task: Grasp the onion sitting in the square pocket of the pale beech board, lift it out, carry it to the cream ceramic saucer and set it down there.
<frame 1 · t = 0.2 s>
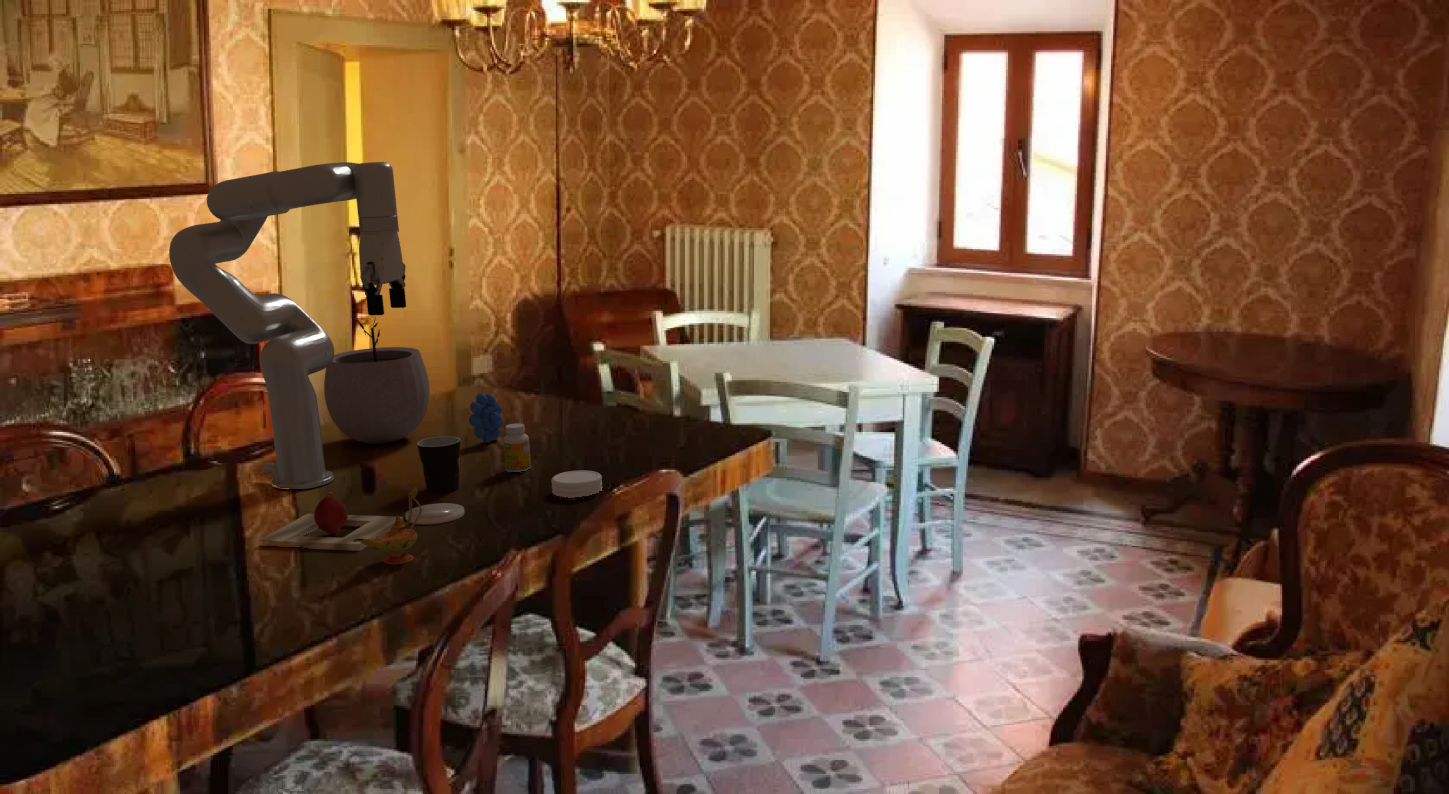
hand: (387, 311, 263), 36 cm above the table, tool pointing down, fingers open, 9 cm apart
saucer: (435, 515, 250), on the table
magic lamp: (392, 563, 224), on the table
pocket board: (333, 534, 241), on the table
plant pot: (382, 441, 312), on the table
grapes: (491, 443, 305), on the table
white round container: (577, 494, 261), on the table
supplement bottle: (518, 470, 280), on the table
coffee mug: (446, 487, 269), on the table
onion: (333, 535, 241), resting in pocket board
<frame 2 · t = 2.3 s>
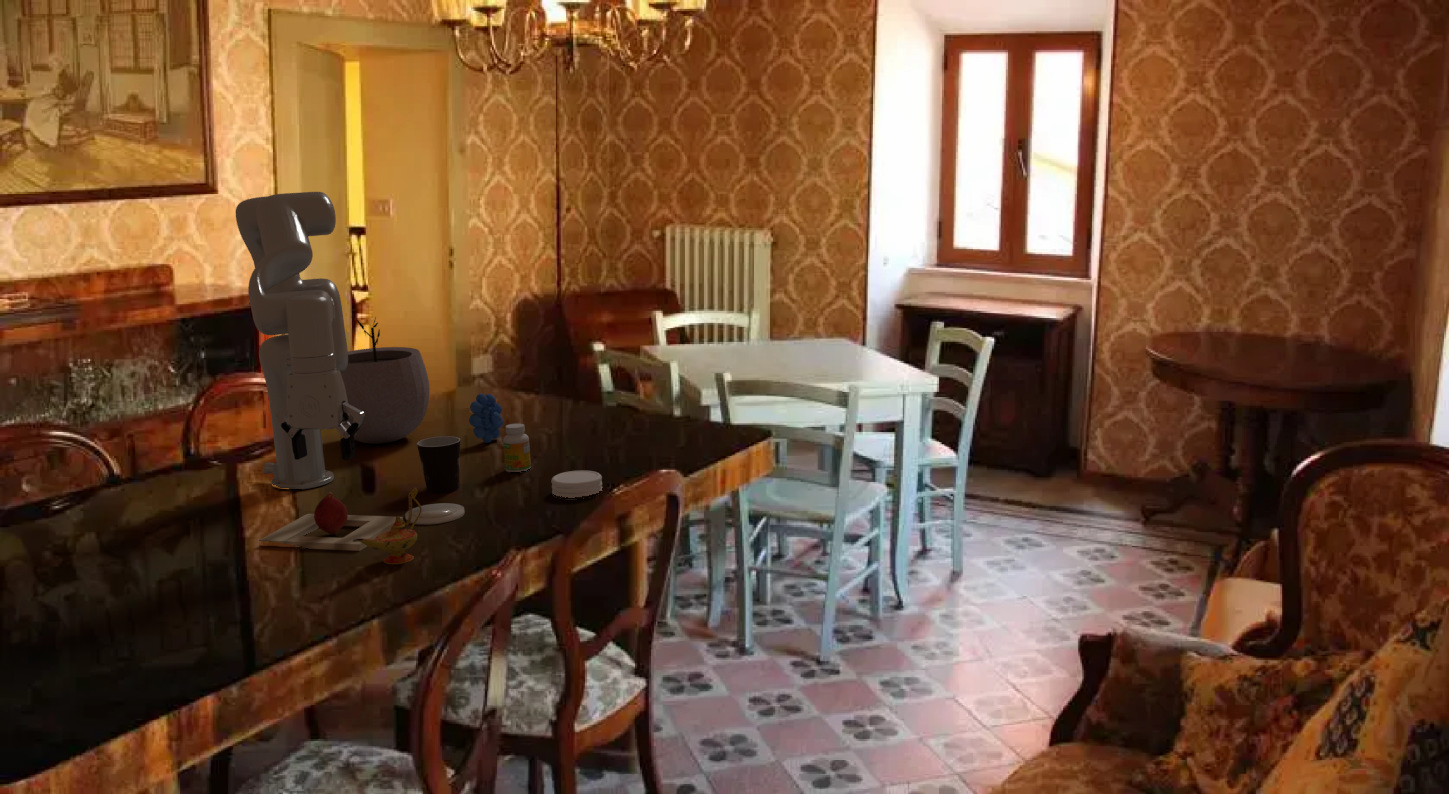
hand: (324, 458, 237), 15 cm above the table, tool pointing down, fingers open, 9 cm apart
nothing on the table moved.
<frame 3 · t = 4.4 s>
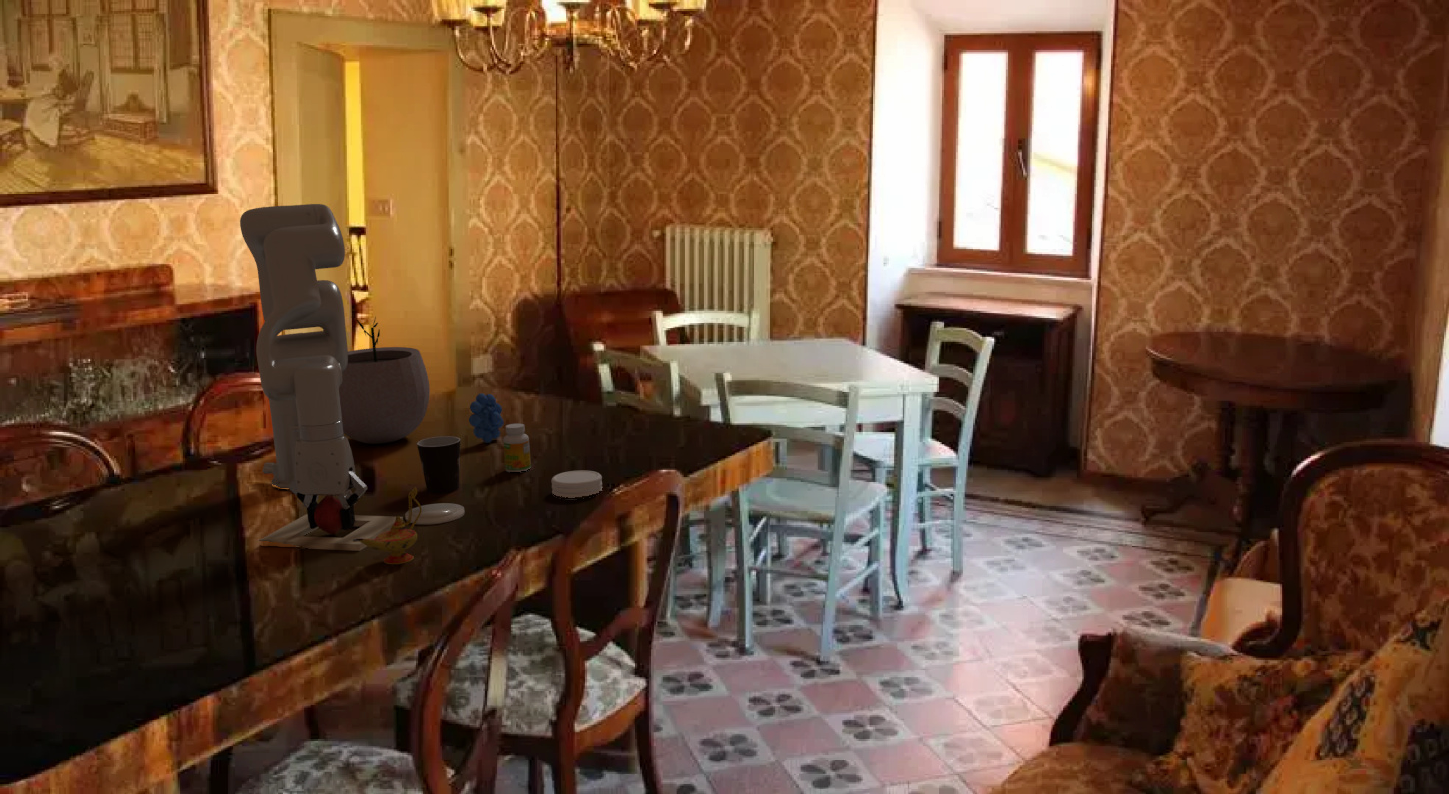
hand: (332, 526, 240), 2 cm above the table, tool pointing down, fingers closed on onion, 5 cm apart
onion: (333, 535, 241), resting in pocket board, touching gripper
everything else where it was.
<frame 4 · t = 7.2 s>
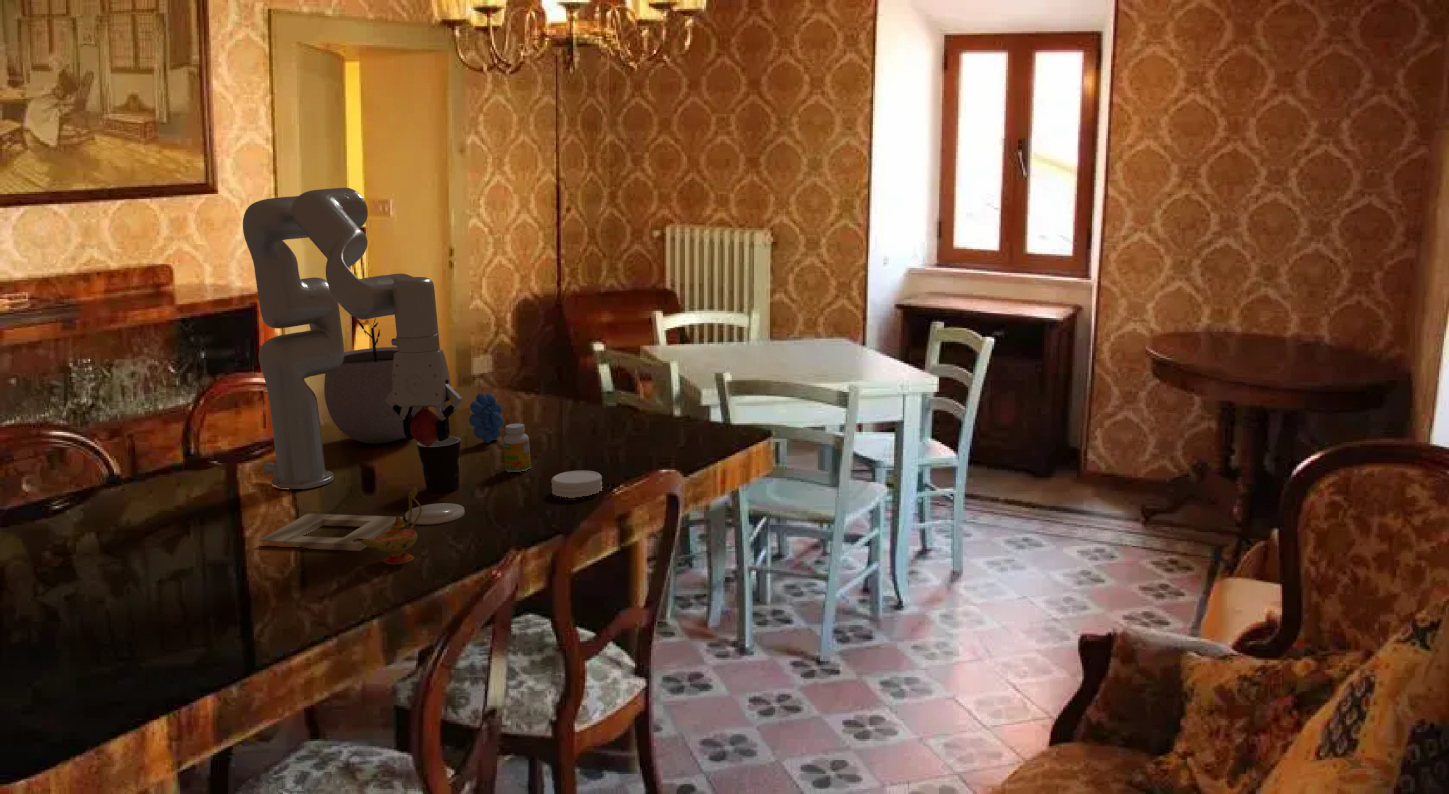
hand: (427, 438, 247), 15 cm above the table, tool pointing down, fingers closed on onion, 5 cm apart
onion: (428, 447, 247), point 13 cm above the table, touching gripper
everything else where it was.
when the fingers open (3 cm above the table, at t = 10.1 s): onion stays where it is, resting on saucer.
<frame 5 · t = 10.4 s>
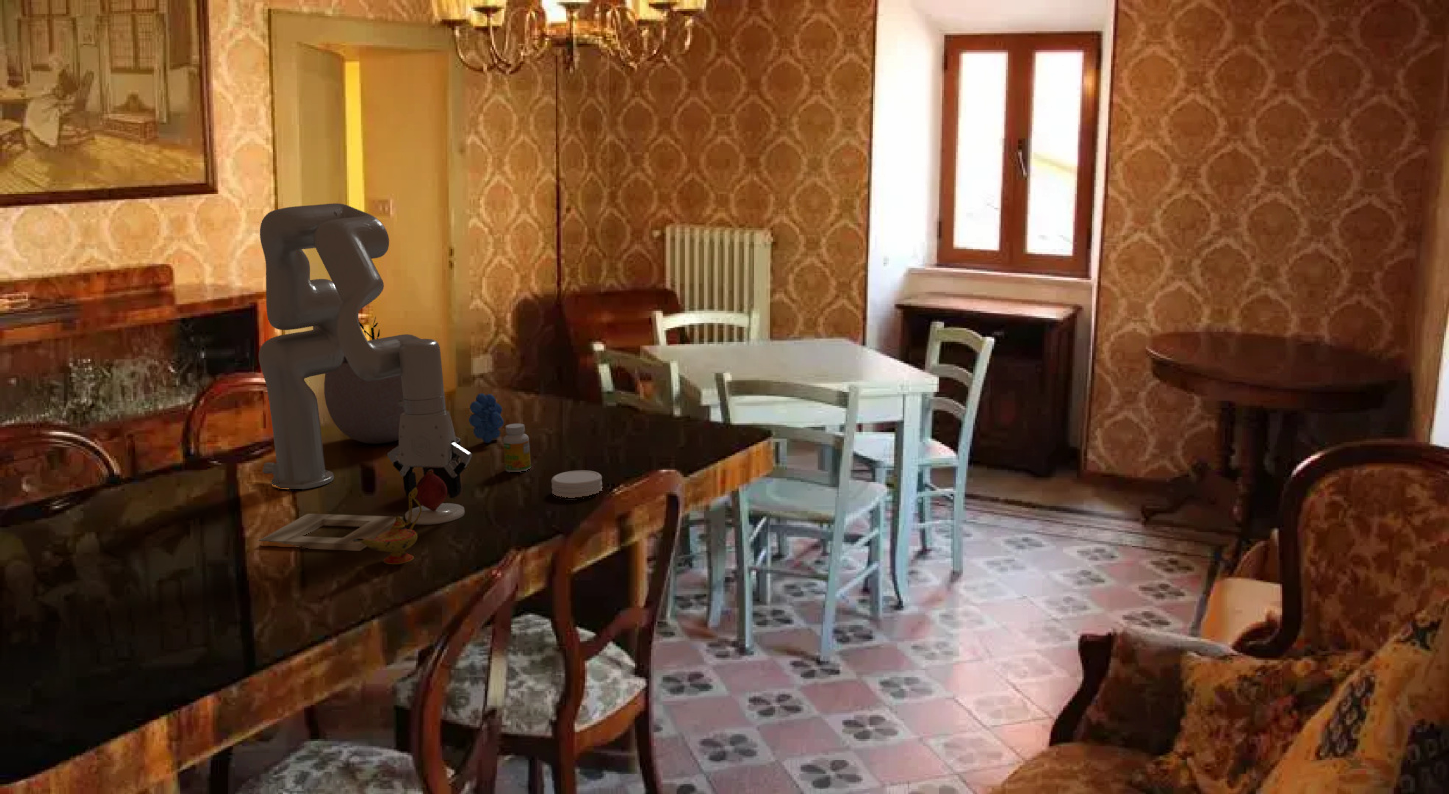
hand: (433, 495, 249), 4 cm above the table, tool pointing down, fingers open, 8 cm apart
onion: (433, 511, 250), point 1 cm above the table, touching saucer
everything else where it was.
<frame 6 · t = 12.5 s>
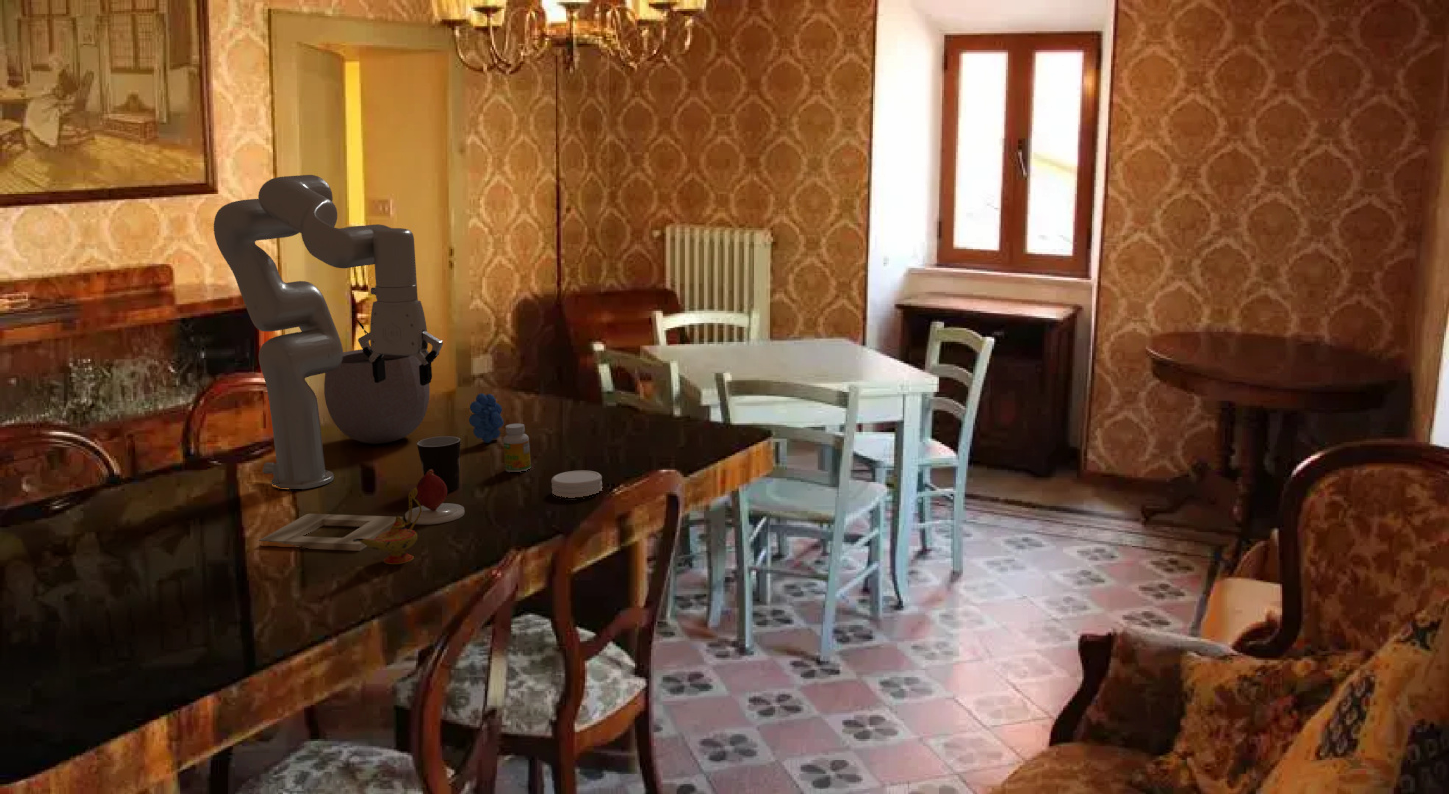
hand: (402, 382, 253), 24 cm above the table, tool pointing down, fingers open, 9 cm apart
nothing on the table moved.
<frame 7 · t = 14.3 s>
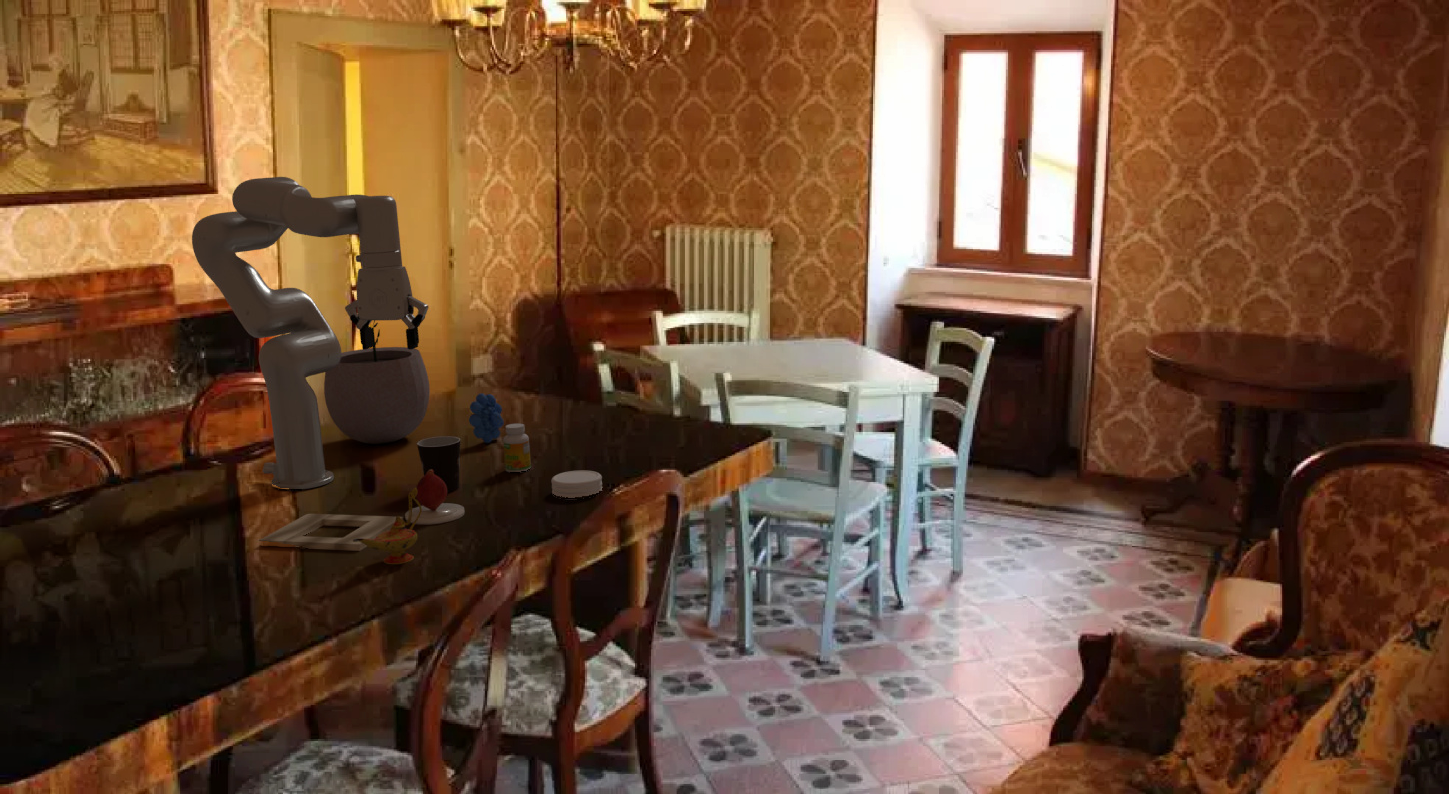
hand: (390, 348, 257), 30 cm above the table, tool pointing down, fingers open, 9 cm apart
nothing on the table moved.
at the end: onion 0.3 cm from the saucer (horizontally); onion touching saucer; the gripper is holding nothing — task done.
